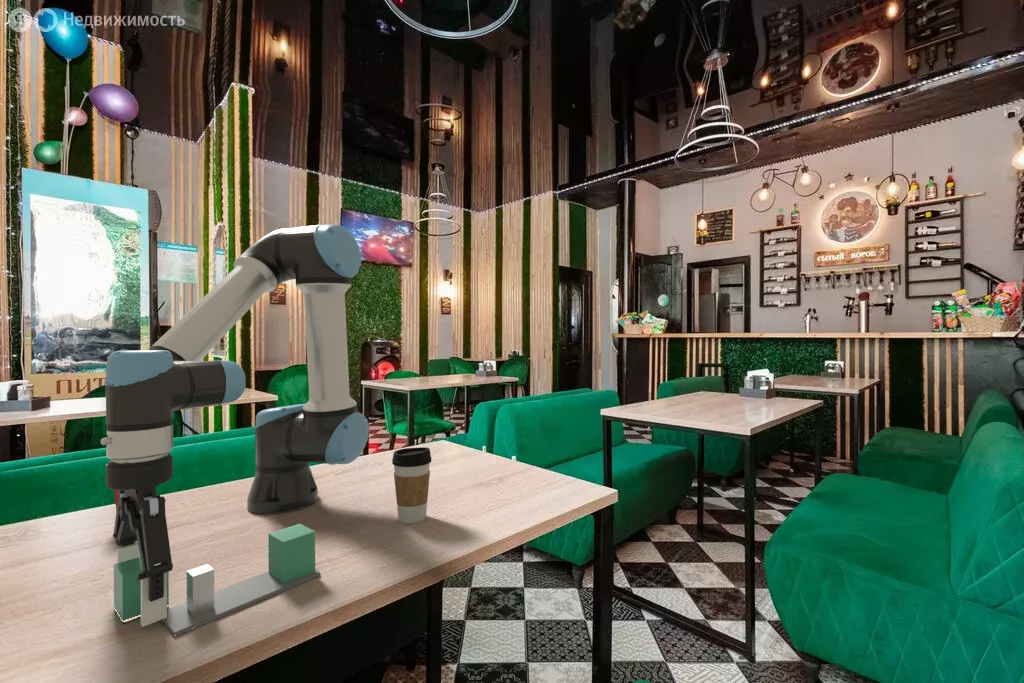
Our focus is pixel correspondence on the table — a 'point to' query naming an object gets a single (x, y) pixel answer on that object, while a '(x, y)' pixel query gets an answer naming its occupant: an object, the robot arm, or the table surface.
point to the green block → (129, 588)
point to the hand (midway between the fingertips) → (140, 603)
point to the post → (200, 589)
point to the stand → (258, 579)
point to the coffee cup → (411, 483)
